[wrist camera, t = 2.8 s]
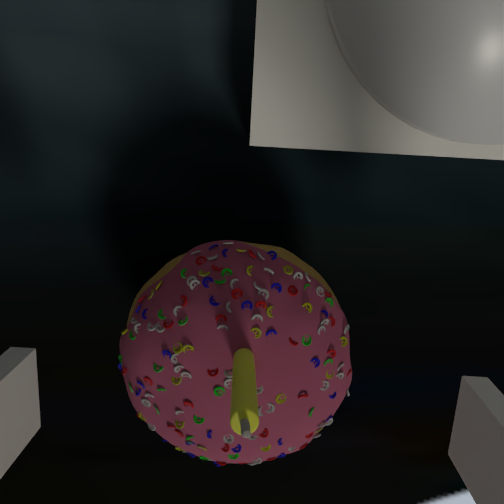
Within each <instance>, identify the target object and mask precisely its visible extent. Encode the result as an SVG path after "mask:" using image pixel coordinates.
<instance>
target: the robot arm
mask: <svg viewBox="0 0 504 504" xmlns="http://www.w3.org/2000/svg"><path fill="white" fill-rule="evenodd" d="M40 427H41V425H40V409H39V394H38V378H37V363H36V349H34V348H18V347H11V348H9V349H8V350H7V351H6V352H5V353H3V354H2V355H1V356H0V479H1V478H2V476H3V475H4V474H5V472H6V471H7V470H8V468H9V467H10V466H11V465H12V463H13V462H14V461H15V459H16V458H17V457H18V455H19V454H20V453H21V452H22V450H23V449H24V448H25V446H26V445H27V444H28V442H29V441H30V440H31V439H32V437H33V436H34V435H35V433H36V432H37V431H38V429H39V428H40ZM448 455H449V456H450V458H451V460H452V462H453V464H454V465H455V467H456V469H457V471H458V472H459V474H460V476H461V478H462V479H463V481H464V483H465V485H466V487H467V488H468V490H469V492H470V494H471V495H472V497H473V499H474V501H475V503H476V504H504V395H503V394H502V393H501V392H500V391H499V390H498V389H497V387H496V386H495V385H494V384H493V383H492V382H491V381H490V380H489V379H488V378H487V377H471V376H462V380H461V385H460V391H459V396H458V402H457V407H456V413H455V418H454V424H453V429H452V435H451V441H450V446H449V452H448Z"/></svg>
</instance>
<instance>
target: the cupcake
mask: <svg viewBox="0 0 504 504" xmlns="http://www.w3.org/2000/svg"><path fill="white" fill-rule="evenodd" d="M121 334H122V335H121V338H120V355H119V361H120V362H121V363H119V364H118V368H119V369H120V370H121V371H122V374H123V376H124V380H125V384H126V387H127V391H128V394H129V397H130V400H131V402H132V404H133V406H134V408H135V409H136V411H137V413H136V414H137V416H138V417H139V418H141V419H142V420H145V421H146V422H147V423H148V427H149V429H150V430H152V431H154V430H155V431H156V432H157V433H158V434H159V435H160V436H162V437H163V438H164V439H162V441H168V442H170V443H171V444H173V445H174V446H176V447H175V449H176V450H179V451H183V452H187V453H188V455H189V456H191V457H195V456H199V458H200V459H202V460H209V461H213V462H214V464H215V465H216V466H218V467H220V466H221V465H226V463H239V464H246V463H248V464H249V465H256V464H260V463H261V462H262V461H266V460H273V459H275V458H277V457H285V454H289V453H292V452H295V451H298V450H300V449H302V448H304V447H305V446H306V445H307V444H308V443H309V442H310V441H311V440H312V439H313V438H316V437H319V436H321V434H318V433H319V431H320V430H321V429H323V427H324V426H325V425H330V424H331V423H332V422H333V418H331V417H332V416H333V415H334V413H335V412H336V410H337V409H338V407H339V405H340V404H341V402H342V400H343V399H344V397H345V395H346V394H347V396H349V391H348V389H349V386H350V383H351V379H352V368H351V362H350V351H349V325H348V324H347V320H346V317H345V315H344V313H343V311H342V310H341V308H340V305H339V303H338V301H337V299H336V297H335V295H334V293H333V292H332V290H331V289H330V287H329V286H328V284H327V283H326V281H325V280H324V279H323V278H322V277H321V275H320V274H319V273H318V272H317V271H315V270H314V269H313V268H312V267H310V266H309V265H308V264H306V263H305V262H303V261H302V260H301V259H299V258H298V257H297V256H295V255H294V254H292V253H291V252H289V251H288V250H286V249H283V248H281V247H277V246H271V245H264V244H255V243H248V242H242V241H235V240H220V241H213V242H208V243H204V244H201V245H199V246H196V247H194V248H193V249H191V250H190V251H188V252H187V253H185V254H183V255H180V256H178V257H176V258H174V259H172V260H171V261H169V262H168V263H167V264H166V265H165V266H163V267H162V268H161V269H160V270H159V271H158V272H157V273H156V274H155V275H154V276H153V277H152V278H151V279H150V280H149V281H148V282H147V283H146V284H145V285H144V286H143V287H142V288H141V290H140V291H139V293H138V294H137V296H136V298H135V300H134V302H133V305H132V307H131V310H130V313H129V318H128V322H127V327H126V328H125V329H124V330H123V331H122V333H121ZM120 365H121V367H120ZM329 420H331V421H330V422H329ZM327 422H329V423H327ZM151 427H152V428H151ZM189 452H190V453H189ZM191 454H193V455H191ZM215 461H216V462H215ZM217 463H218V464H217ZM222 463H223V464H222Z"/></svg>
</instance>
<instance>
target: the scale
mask: <svg viewBox="0 0 504 504" xmlns="http://www.w3.org/2000/svg"><path fill="white" fill-rule="evenodd" d="M250 146H264V147H282V148H299V149H317V150H335V151H353V152H371V153H388V154H406V155H424V156H442V157H460V158H477V159H495V160H504V0H257V11H256V30H255V49H254V69H253V88H252V107H251V127H250Z"/></svg>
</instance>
